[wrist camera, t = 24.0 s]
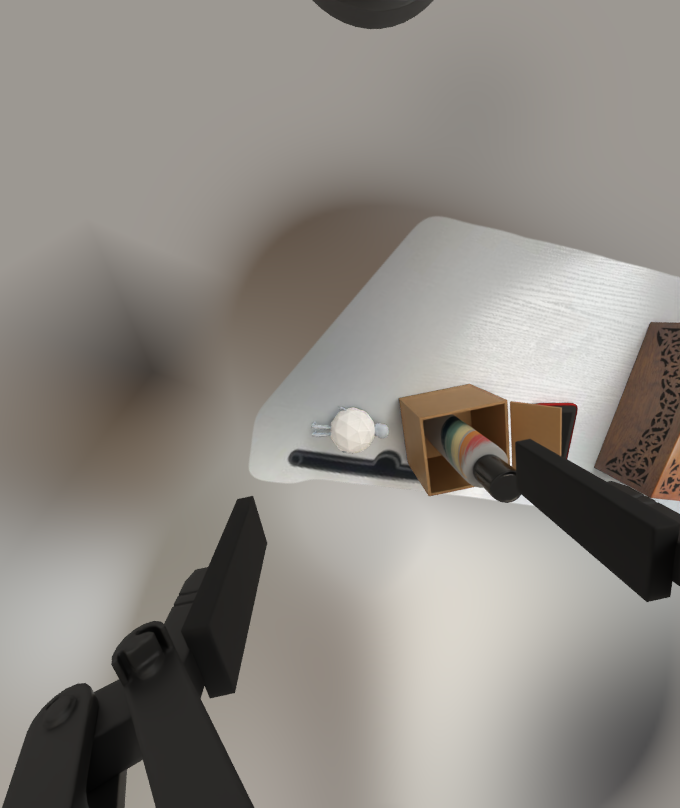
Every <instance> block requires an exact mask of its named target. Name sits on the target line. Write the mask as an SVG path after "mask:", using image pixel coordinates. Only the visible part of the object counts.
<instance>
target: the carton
mask: <svg viewBox="0 0 680 808" xmlns="http://www.w3.org/2000/svg"><path fill="white" fill-rule="evenodd" d="M399 403H400V410H401V417H402V424H403V431H404V439H405V446H406V453H407V460H408V464H409V466H410V467H411V469H412V470H413V472H414V474H415V475H416V477H417V478H418V480H419V481H420V483H421V485H422V486H423V488H424V489H425V491H426V492H427V494H428V496H433V495H438V494H443V493H448V492H452V491H457V490H462V489H467V488H471V487H475V486H473V485H471V484H469V483H468V482H467V481H466V480H465V479H464V478H463V477H462V476H461V475H460V474H459V473H458V472H457V471H456V470H455V468H454V467H453V466H452V465H451V464H450V463H449V462H448V461H447V460H446V459H445V458H444V457H443V455H442V454H441V453H440V452H439V451H438V450H437V449H436V448H435V447H434V446H433V445H432V443H431V442H430V441H429V440H428V439H427V438H426V436H425V435H424V428H423V422H424V420H426V419H431V418H435V417H440V416H445V415H450V414H453V415H455V416H456V417H457V418H459V419H460V420H462V421H463V422H464V423H466V424H467V425H469V426H470V427H472V428H473V429H474V430H476V431H477V432H479V433H480V434H481V435H483V436H484V437H486V438H487V439H489V440H490V441H491V442H493V443H494V444H496V445H497V446H498V447H500V448H501V449H502V450H503V451H504V452H505V454H506V456H507V459H508V464H509V465H510V457H509V431H508V406H507V400H506V399H503V398H501V397H499V396H496V395H494V394H492V393H490V392H487V391H485V390H483V389H480V388H478V387H476V386H473V385H471V384H467V385H462V386H457V387H452V388H447V389H442V390H437V391H432V392H427V393H422V394H417V395H412V396H407V397H402V398H399Z"/></svg>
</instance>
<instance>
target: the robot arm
mask: <svg viewBox="0 0 680 808" xmlns="http://www.w3.org/2000/svg"><path fill="white" fill-rule="evenodd" d="M515 453H516V483H517V491H518V492H519V493H521V494H522V495H523V496H524V497H525V498H526V499H528V500H529V501H530V502H531V503H532V504H533V505H534V506H536V507H537V508H538V509H539V510H540V511H542V512H543V513H544V514H545V515H546V516H547V517H549V518H550V519H551V520H552V521H553V522H554V523H555V524H557V525H558V526H559V527H560V528H561V529H562V530H564V531H565V532H566V533H567V534H568V535H570V536H571V537H572V538H573V539H574V540H575V541H577V542H578V543H579V544H580V545H581V546H583V548H585V549H586V550H587V551H588V552H589V553H590V554H592V555H593V556H594V557H595V558H596V559H598V560H599V561H600V562H601V563H602V564H603V565H605V566H606V567H607V568H608V569H609V570H610V571H611V572H613V573H614V574H615V575H616V576H617V577H618V578H620V579H621V580H622V581H623V582H624V583H625V584H627V585H628V586H629V587H630V588H631V589H632V590H633V591H635V592H636V593H637V594H638V595H639V596H641V597H642V598H643V599H644V600H645V601H646V602H649V601H653V600H658V599H662V598H667V597H670V595H671V587H672V581H673V582H675V583H676V584H677V585H679V586H680V514H679V513H677V512H675V511H673V510H671V509H669V508H668V507H666V506H664V505H662V504H660V503H656V502H655V500H653V499H651V498H649V497H647V496H644V495H643V494H642V493H640V492H638V491H636V490H634V489H632V488H631V487H629V486H625V485H622V484H619V483H616V482H613V481H609V482H606V481H604V480H602V479H601V478H599V477H597V476H595V475H594V474H592V473H590V472H588V471H586V470H585V469H583V468H581V467H579V466H578V465H576V464H574V463H572V462H571V461H569V460H567V459H565V458H563V457H562V456H560V455H558V454H556V453H555V452H553V451H551V450H549V449H547V448H546V447H544V446H542V445H540V444H539V443H537V442H535V441H533V440H532V439H526V440H521V441H516V442H515ZM266 546H267V541H266V537H265V534H264V531H263V527H262V524H261V521H260V518H259V514H258V511H257V508H256V504H255V501H254V498H253V496H250V497H246V498H241V499H237V501H236V504H235V506H234V508H233V511H232V513H231V515H230V518H229V520H228V523H227V525H226V527H225V529H224V532H223V534H222V536H221V539H220V541H219V543H218V546H217V548H216V550H215V553H214V555H213V557H212V560H211V562H210V564H209V566H208V567H207V568H202V569H197V570H195V571H194V572H193V573H192V575H191V576H190V577H189V578H188V579H187V580H186V581H185V583H184V585H183V587H182V589H181V591H180V593H179V596H178V597H177V599H176V601H175V603H174V607H172V609H171V611H170V613H169V615H168V617H167V619H166V621H165V623H164V624H163V623H162V622H159V621H153V622H149V623H146V624H143V625H142V626H140V627H138V628H136V629H135V630H133V631H132V632H131V633H130V634H129V635H127V636H126V637H125V638H124V639H123V640H122V642H121V643H120V644H119V645H118V647H117V648H116V650H115V652H114V654H113V656H112V666H113V668H114V670H115V672H116V674H117V676H118V677H119V680H117V681H115V682H113V683H111V684H109V685H107V686H105V687H103V688H101V689H99V690H97V691H96V692H93V690H92V688H91V687H90V686H89V685H87V684H86V683H82V684H76V685H74V686H72V687H69V688H67V689H65V690H64V691H62V692H61V693H59V694H58V695H56V696H55V697H54V698H53V699H52V700H51V701H49V703H47V704H46V705H45V706H44V707H43V708H42V709H41V711H40V712H39V713H38V715H37V716H36V717H35V718H34V720H33V721H32V723H31V725H30V727H29V730H28V731H27V734H26V737H25V740H24V743H23V746H22V749H21V752H20V755H19V758H18V761H17V764H16V767H15V770H14V773H13V776H12V779H11V782H10V785H9V789H8V791H7V794H6V798H5V801H4V804H3V807H2V808H124V807H125V790H126V775H127V769H128V768H130V767H131V766H133V765H135V764H136V763H138V762H140V761H141V760H143V762H144V765H145V769H146V773H147V776H148V780H149V784H150V787H151V791H152V795H153V798H154V802H155V806H156V808H254V806H253V804H252V802H251V800H250V798H249V797H248V794H247V792H246V790H245V788H244V786H243V784H242V782H241V780H240V778H239V776H238V774H237V772H236V770H235V768H234V766H233V764H232V762H231V760H230V758H229V756H228V753H227V751H226V749H225V747H224V745H223V743H222V742H221V740H220V737H219V735H218V733H217V731H216V729H215V727H214V725H213V723H212V721H211V719H210V717H209V715H208V713H207V711H206V709H205V707H204V705H203V703H202V701H201V695H202V692H203V689H204V686H205V687H206V690H207V692H208V695H209V697H210V698H214V697H218V696H223V695H227V694H232V693H235V690H236V685H237V680H238V675H239V671H240V666H241V662H242V657H243V653H244V648H245V643H246V638H247V633H248V629H249V625H250V620H251V615H252V611H253V606H254V601H255V597H256V592H257V587H258V583H259V578H260V573H261V569H262V564H263V559H264V555H265V550H266Z"/></svg>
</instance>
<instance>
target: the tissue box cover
mask: <svg viewBox="0 0 680 808" xmlns="http://www.w3.org/2000/svg"><path fill="white" fill-rule="evenodd" d="M594 468H596V469H598V470H600V471H602V472H604V473H605V474H607V475H609V476H611V477H613V478H615V479H617V480H618V481H620V482H622V483H624V484H626V485H628V486H630V487H631V488H633V489H635V490H637V491H639V492H641V493H643V494H644V495H646V496H648V497H650V498H657V499H666V500H676V501H680V323H662V322H651V323H650V326H649V328H648V331H647V333H646V336H645V339H644V341H643V344H642V346H641V349H640V351H639V354H638V356H637V359H636V362H635V364H634V367H633V369H632V372H631V374H630V377H629V379H628V382H627V385H626V387H625V390H624V392H623V395H622V397H621V400H620V402H619V405H618V408H617V410H616V413H615V415H614V418H613V420H612V423H611V425H610V428H609V431H608V433H607V436H606V438H605V441H604V443H603V446H602V448H601V451H600V454H599V456H598V459H597V461H596V464H595V466H594Z"/></svg>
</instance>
